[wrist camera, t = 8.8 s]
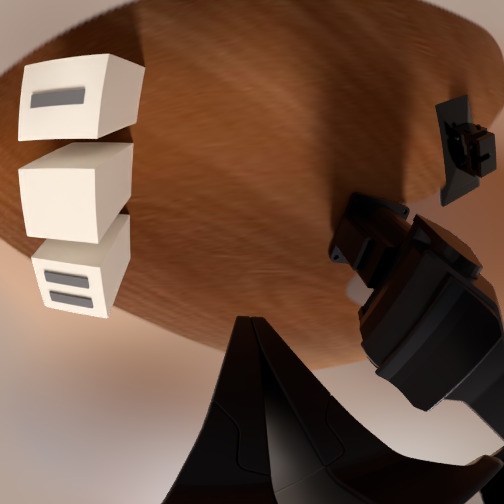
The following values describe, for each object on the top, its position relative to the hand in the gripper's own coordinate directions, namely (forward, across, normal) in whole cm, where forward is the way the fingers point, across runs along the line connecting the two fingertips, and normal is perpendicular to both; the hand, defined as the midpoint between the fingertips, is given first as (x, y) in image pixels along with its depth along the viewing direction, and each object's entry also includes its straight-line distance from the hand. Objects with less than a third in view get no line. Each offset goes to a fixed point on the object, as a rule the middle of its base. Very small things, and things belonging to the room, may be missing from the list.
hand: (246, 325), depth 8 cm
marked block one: (+13, +10, -6) cm, 17 cm away
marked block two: (+13, +10, +5) cm, 17 cm away
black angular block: (+14, -21, -10) cm, 27 cm away
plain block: (+13, +10, 0) cm, 16 cm away
